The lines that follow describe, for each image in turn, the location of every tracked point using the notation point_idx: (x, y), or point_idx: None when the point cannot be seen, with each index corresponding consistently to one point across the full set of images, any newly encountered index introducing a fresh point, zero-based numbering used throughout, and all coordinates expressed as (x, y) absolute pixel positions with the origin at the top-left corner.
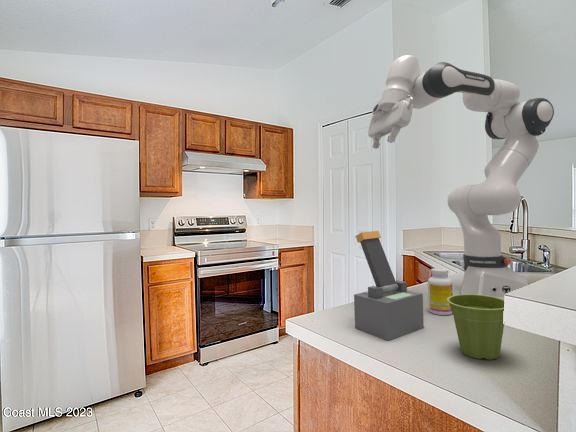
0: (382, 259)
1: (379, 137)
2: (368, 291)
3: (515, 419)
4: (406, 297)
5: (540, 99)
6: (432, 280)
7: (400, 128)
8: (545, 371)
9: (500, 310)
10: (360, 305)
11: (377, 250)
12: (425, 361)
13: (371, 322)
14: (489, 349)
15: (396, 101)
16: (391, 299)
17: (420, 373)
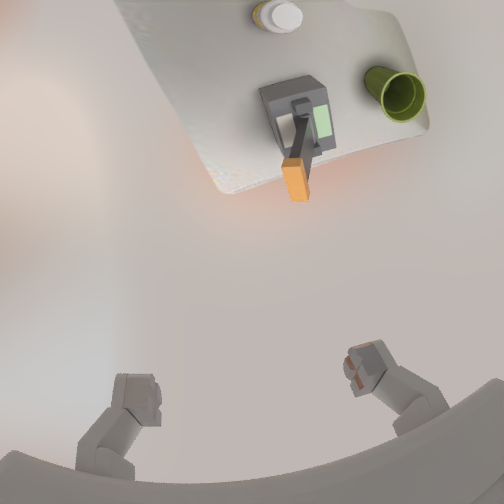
0: (306, 146)
1: (117, 466)
2: None
3: (420, 134)
4: (329, 116)
5: None
6: (285, 32)
7: (441, 414)
8: (413, 71)
9: (422, 102)
10: None
11: (304, 158)
12: (364, 127)
13: None
14: (394, 90)
15: None
16: (327, 135)
17: (373, 142)
